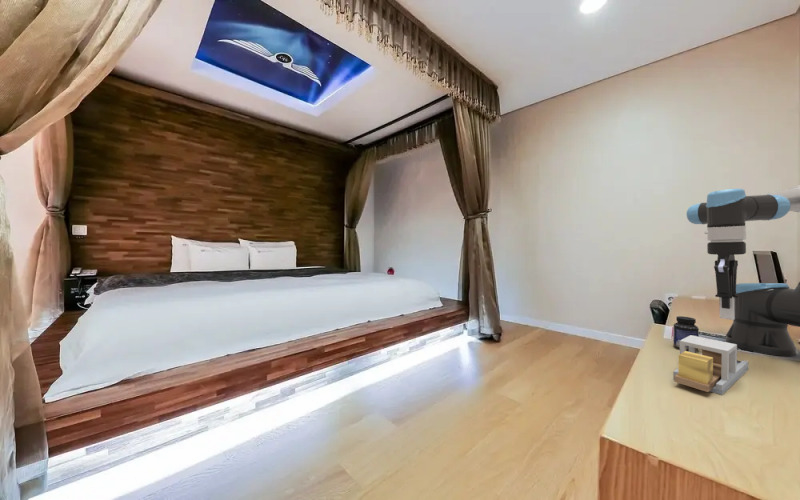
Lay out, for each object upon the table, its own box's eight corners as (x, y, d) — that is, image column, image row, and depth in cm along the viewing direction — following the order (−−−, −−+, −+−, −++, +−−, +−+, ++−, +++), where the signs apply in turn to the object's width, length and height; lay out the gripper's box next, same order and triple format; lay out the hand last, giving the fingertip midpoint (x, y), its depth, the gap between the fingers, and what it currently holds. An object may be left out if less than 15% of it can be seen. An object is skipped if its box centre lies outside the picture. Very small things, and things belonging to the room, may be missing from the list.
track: (704, 358, 88) (705, 327, 88) (748, 369, 81) (748, 335, 81) (673, 379, 75) (673, 343, 75) (721, 395, 67) (722, 354, 67)
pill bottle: (703, 353, 93) (704, 320, 93) (682, 351, 94) (682, 319, 94) (688, 346, 99) (689, 316, 99) (668, 345, 100) (669, 315, 100)
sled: (701, 362, 82) (701, 339, 82) (732, 370, 77) (732, 346, 77) (674, 381, 72) (674, 354, 71) (708, 392, 66) (708, 363, 66)
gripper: (713, 241, 90) (715, 312, 90) (701, 242, 83) (702, 319, 84) (750, 240, 83) (751, 317, 84) (739, 241, 77) (741, 325, 77)
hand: (727, 318), depth 84 cm, fingers closed
